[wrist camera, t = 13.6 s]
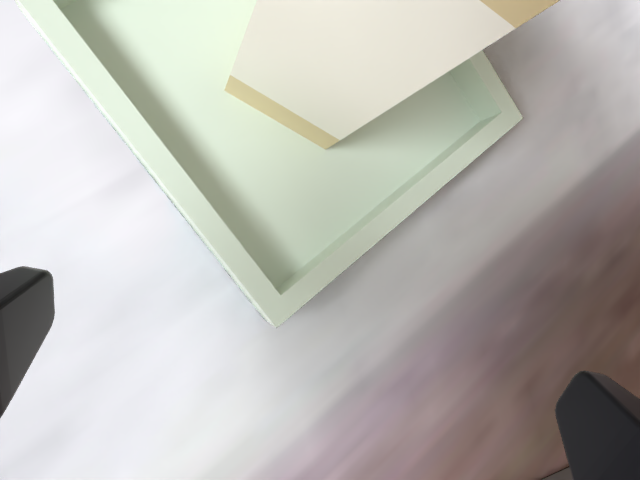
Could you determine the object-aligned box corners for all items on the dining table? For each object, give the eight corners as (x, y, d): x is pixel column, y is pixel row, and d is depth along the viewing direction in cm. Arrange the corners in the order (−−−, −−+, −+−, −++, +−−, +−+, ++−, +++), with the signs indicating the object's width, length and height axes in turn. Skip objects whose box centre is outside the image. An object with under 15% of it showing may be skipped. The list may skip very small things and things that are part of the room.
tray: (264, 320, 18) (276, 328, 16) (21, 11, 15) (0, -23, 14) (491, 129, 21) (523, 118, 20) (323, -144, 19) (340, -188, 17)
